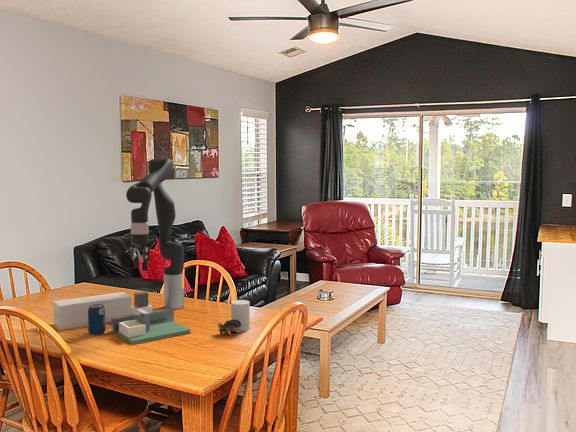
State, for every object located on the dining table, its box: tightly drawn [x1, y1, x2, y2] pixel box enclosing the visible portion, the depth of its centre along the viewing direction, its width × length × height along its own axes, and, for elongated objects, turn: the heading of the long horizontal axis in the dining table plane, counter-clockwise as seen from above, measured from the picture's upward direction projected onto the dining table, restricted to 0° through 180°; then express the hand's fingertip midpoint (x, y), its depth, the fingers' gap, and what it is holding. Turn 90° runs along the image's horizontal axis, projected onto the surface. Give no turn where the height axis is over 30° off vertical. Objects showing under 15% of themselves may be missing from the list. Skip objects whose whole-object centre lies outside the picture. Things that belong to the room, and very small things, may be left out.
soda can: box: [87, 304, 107, 337], centre depth 234 cm, size 7×7×12 cm
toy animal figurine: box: [217, 319, 242, 336], centre depth 235 cm, size 8×7×9 cm
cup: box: [230, 299, 251, 333], centre depth 242 cm, size 8×8×12 cm
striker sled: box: [131, 291, 153, 331], centre depth 240 cm, size 8×16×13 cm, turn 38°
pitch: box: [116, 320, 191, 346], centre depth 234 cm, size 26×16×2 cm, turn 128°
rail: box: [110, 308, 175, 334], centre depth 245 cm, size 28×3×6 cm, turn 128°
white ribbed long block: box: [52, 291, 132, 331], centre depth 253 cm, size 32×11×11 cm, turn 126°
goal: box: [119, 320, 146, 338], centre depth 230 cm, size 8×10×4 cm
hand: (140, 269), depth 242 cm, fingers open, 8 cm apart
